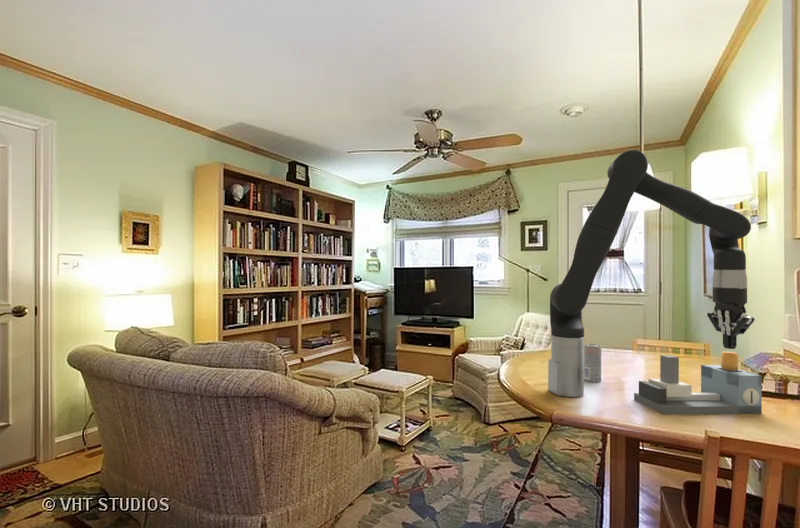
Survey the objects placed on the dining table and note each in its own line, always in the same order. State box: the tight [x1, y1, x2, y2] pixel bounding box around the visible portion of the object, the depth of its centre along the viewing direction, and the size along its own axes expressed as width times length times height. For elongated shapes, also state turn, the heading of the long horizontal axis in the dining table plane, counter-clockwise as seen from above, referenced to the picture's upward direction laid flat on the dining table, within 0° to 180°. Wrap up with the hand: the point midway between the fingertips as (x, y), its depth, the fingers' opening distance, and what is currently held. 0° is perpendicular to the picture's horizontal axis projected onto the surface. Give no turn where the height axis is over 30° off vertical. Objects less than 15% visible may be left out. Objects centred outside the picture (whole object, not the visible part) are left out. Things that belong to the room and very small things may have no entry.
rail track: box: [633, 364, 763, 416], centre depth 111 cm, size 27×12×10 cm, turn 94°
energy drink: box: [584, 343, 602, 383], centre depth 137 cm, size 5×5×12 cm
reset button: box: [720, 351, 739, 371], centre depth 112 cm, size 4×4×4 cm
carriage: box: [648, 354, 693, 397], centre depth 111 cm, size 7×7×10 cm
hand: (729, 348), depth 112 cm, fingers closed
